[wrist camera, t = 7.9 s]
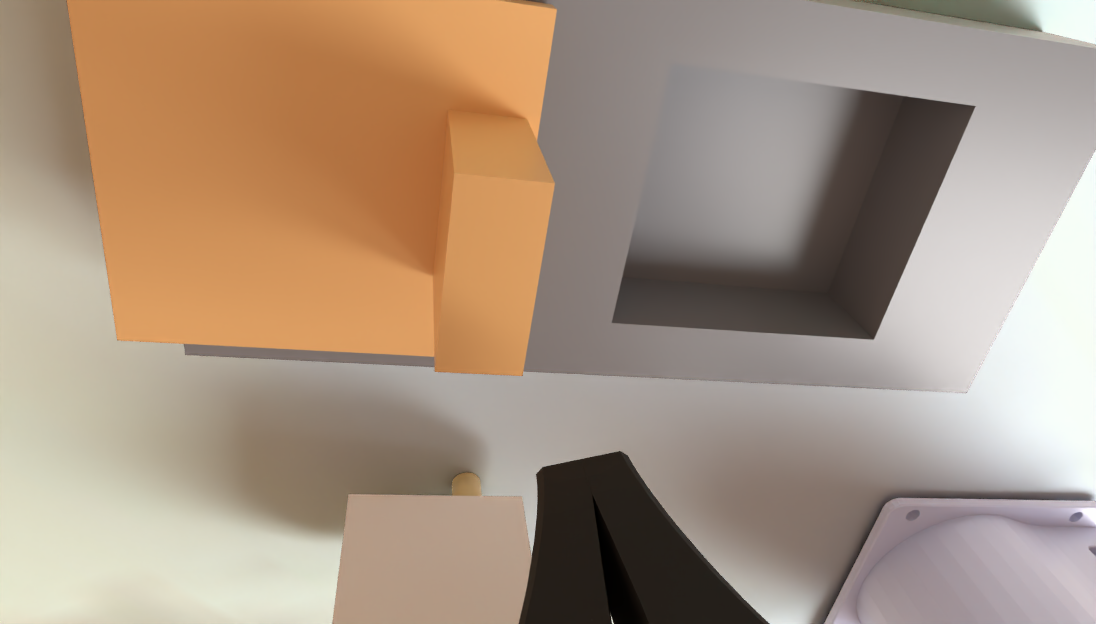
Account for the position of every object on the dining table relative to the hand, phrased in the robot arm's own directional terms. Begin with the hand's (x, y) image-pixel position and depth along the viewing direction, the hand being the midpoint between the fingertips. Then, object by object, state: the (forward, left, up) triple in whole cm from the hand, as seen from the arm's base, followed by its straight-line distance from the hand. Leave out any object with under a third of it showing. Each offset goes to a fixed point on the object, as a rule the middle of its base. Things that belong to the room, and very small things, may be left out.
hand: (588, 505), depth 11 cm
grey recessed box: (-2, -3, -9) cm, 10 cm away
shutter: (+5, -3, -6) cm, 8 cm away
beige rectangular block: (+2, +9, -9) cm, 13 cm away
